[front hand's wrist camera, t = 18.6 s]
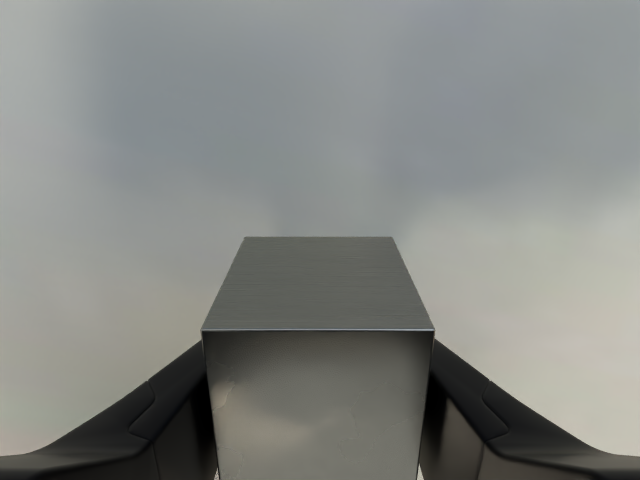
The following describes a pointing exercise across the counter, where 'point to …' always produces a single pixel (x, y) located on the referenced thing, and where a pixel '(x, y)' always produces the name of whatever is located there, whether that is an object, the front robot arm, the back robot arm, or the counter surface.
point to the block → (318, 361)
